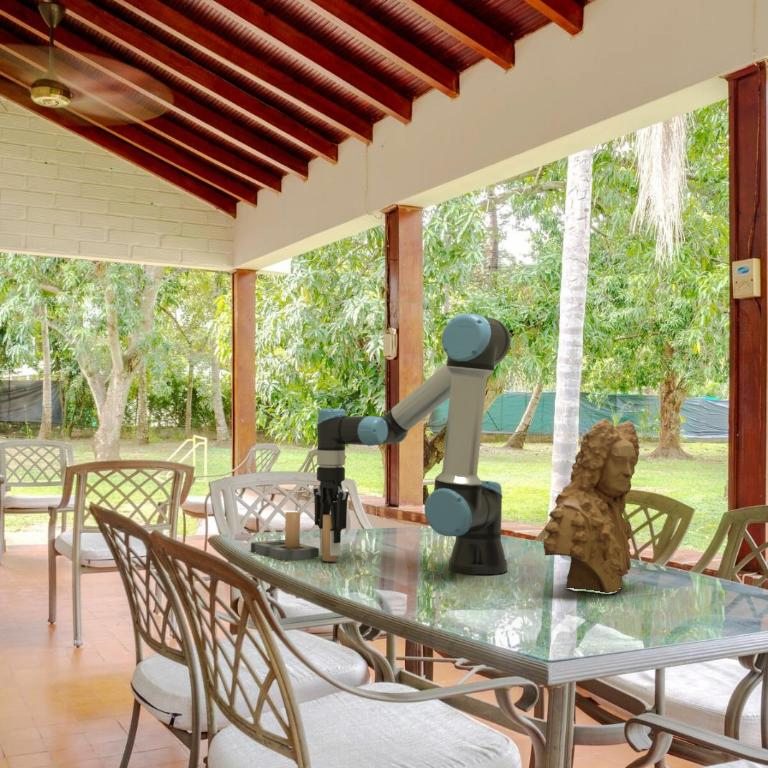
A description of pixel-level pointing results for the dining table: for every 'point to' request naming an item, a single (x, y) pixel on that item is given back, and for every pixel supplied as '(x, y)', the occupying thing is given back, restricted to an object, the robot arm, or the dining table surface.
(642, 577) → the dining table surface
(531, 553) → the dining table surface
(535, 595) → the dining table surface
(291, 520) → the tan wooden cylinder
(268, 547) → the housing
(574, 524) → the bust
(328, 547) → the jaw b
